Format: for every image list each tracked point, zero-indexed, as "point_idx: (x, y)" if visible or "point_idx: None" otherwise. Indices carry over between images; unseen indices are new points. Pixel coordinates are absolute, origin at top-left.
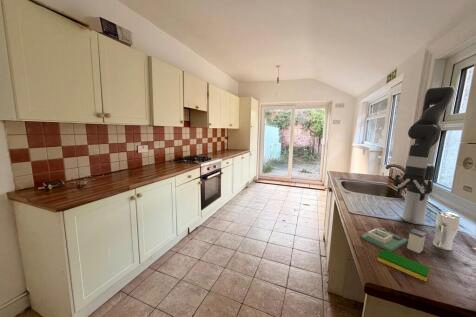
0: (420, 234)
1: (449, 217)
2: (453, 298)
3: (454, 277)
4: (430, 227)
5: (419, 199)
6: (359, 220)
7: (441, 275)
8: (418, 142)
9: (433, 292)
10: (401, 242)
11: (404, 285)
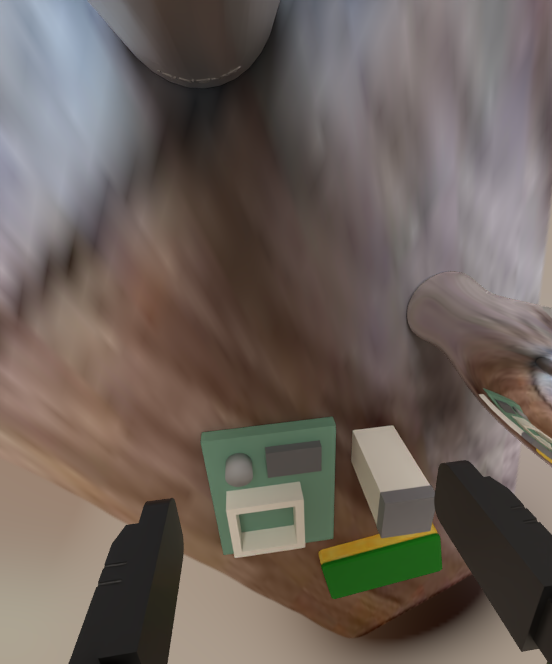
0: (422, 529)
1: None
2: None
3: None
4: (338, 6)
5: (444, 526)
6: (74, 426)
7: None
8: None
9: (450, 568)
10: (331, 469)
11: (404, 595)
